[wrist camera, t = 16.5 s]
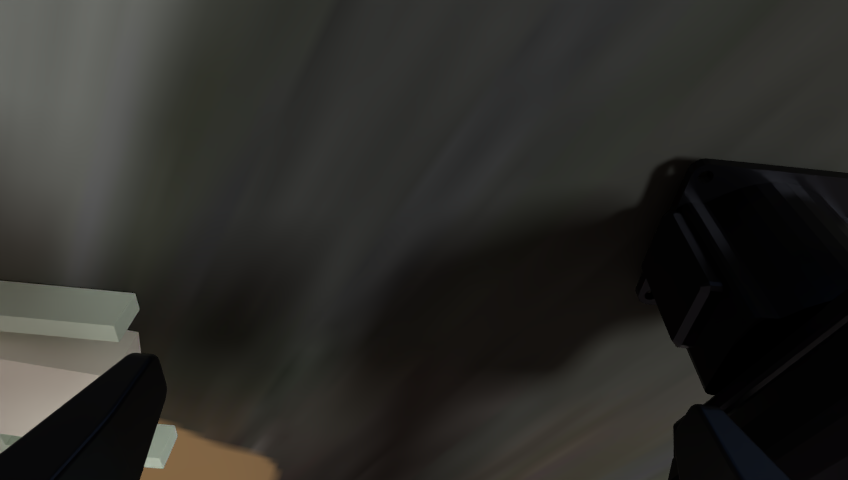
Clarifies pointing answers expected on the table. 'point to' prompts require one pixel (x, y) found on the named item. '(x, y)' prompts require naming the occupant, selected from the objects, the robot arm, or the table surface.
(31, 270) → the table surface
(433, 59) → the table surface
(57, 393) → the tile
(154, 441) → the bay
